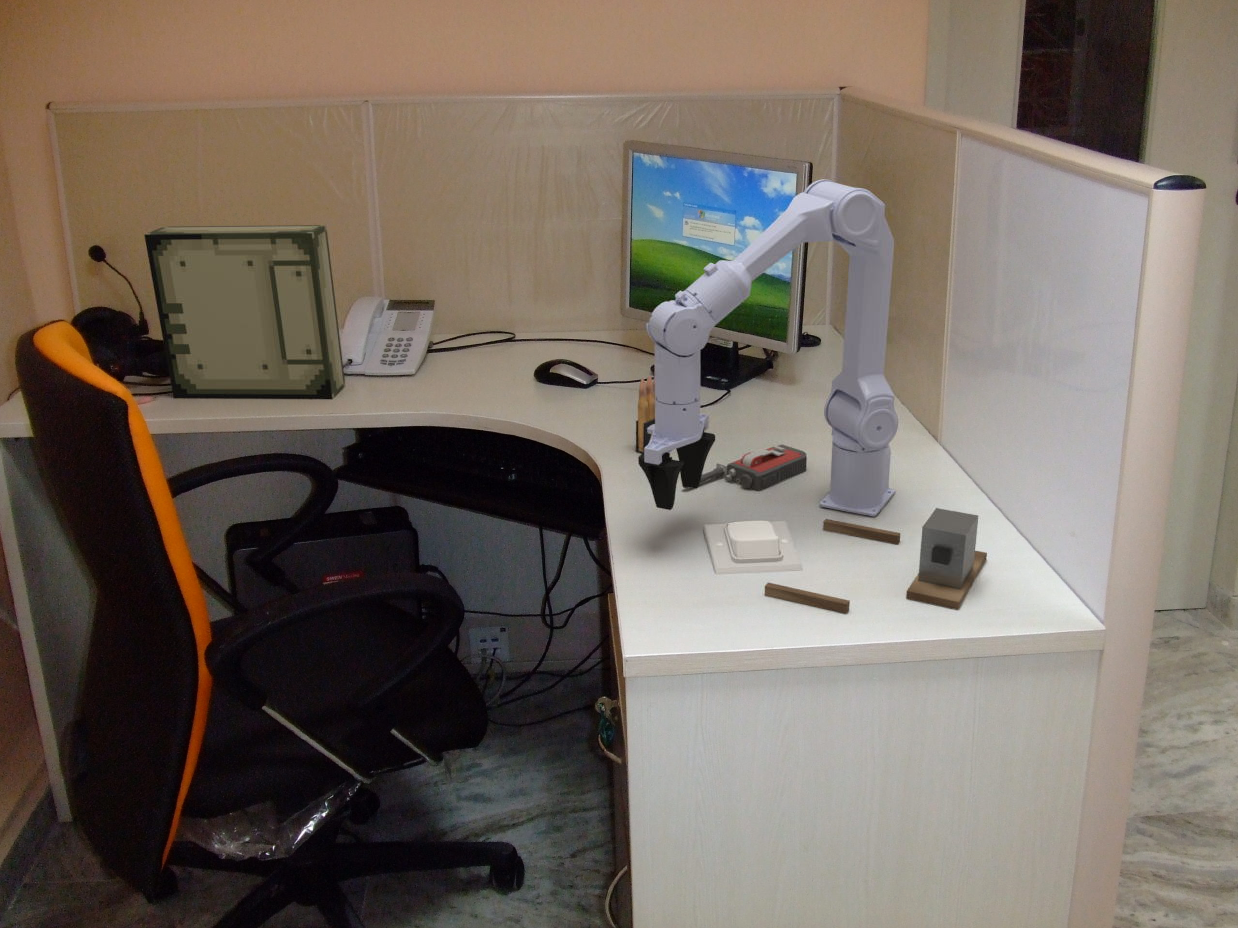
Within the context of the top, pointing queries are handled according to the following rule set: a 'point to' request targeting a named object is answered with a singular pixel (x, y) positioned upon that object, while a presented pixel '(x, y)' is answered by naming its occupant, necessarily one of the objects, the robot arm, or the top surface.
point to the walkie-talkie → (761, 467)
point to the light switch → (751, 547)
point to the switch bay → (825, 600)
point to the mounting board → (945, 588)
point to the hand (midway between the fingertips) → (677, 497)
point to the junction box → (948, 548)
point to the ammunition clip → (645, 413)
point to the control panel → (247, 311)
